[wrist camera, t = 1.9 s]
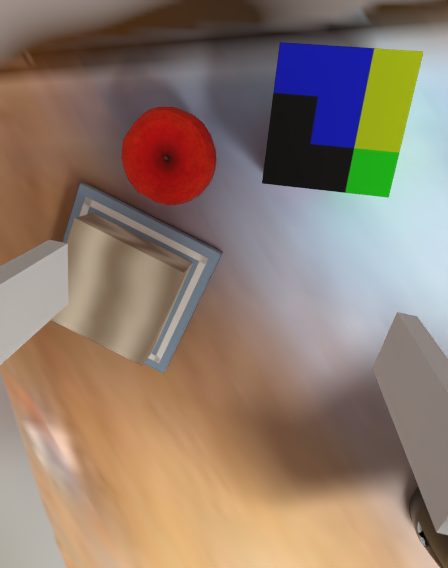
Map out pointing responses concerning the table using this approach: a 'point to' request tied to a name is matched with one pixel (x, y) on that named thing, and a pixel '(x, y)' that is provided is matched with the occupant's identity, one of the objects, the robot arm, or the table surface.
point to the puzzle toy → (339, 117)
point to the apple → (169, 156)
